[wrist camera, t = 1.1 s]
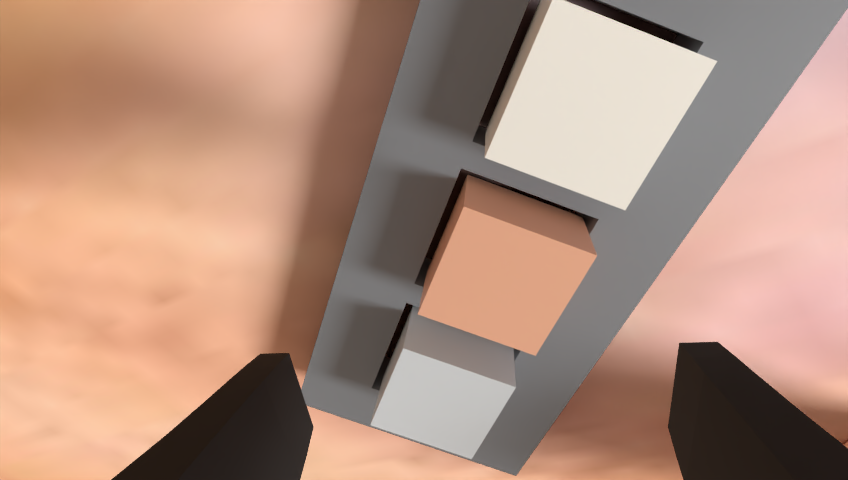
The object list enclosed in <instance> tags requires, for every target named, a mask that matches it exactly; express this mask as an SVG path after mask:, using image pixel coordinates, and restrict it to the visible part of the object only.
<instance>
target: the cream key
mask: <svg viewBox="0 0 848 480" xmlns="http://www.w3.org/2000/svg"><path fill="white" fill-rule="evenodd" d="M716 63H717V61H716V60H713V59H711V58H708V57H705V56H703V55H700V54H698V53H695V52H693V51H690V50H688V49H685V48H683V47H680V46H678V45H675V44H673V43H670V42H668V41H665V40H663V39H660V38H658V37H655V36H653V35H650V34H648V33H645V32H643V31H640V30H638V29H635V28H633V27H630V26H628V25H625V24H623V23H620V22H618V21H615V20H613V19H610V18H608V17H605V16H603V15H600V14H598V13H595V12H592V11H590V10H587V9H585V8H582V7H580V6H577V5H575V4H572V3H570V2H567V1H565V0H540V2H539V4H538V6H537V9H536V11H535V14H534V16H533V18H532V21H531V23H530V26H529V28H528V30H527V33H526V35H525V38H524V40H523V42H522V45H521V47H520V50H519V52H518V54H517V57H516V59H515V62H514V64H513V66H512V69H511V71H510V74H509V76H508V78H507V81H506V83H505V86H504V88H503V90H502V93H501V95H500V98H499V100H498V102H497V105H496V107H495V110H494V112H493V114H492V117H491V119H490V122H489V124H488V126H487V129H486V131H485V158H487V159H489V160H492V161H495V162H497V163H500V164H503V165H505V166H508V167H511V168H513V169H516V170H519V171H521V172H524V173H527V174H529V175H532V176H535V177H537V178H540V179H543V180H545V181H548V182H551V183H553V184H556V185H559V186H561V187H564V188H567V189H569V190H572V191H575V192H577V193H580V194H583V195H585V196H588V197H591V198H593V199H596V200H599V201H601V202H604V203H607V204H609V205H612V206H615V207H617V208H620V209H623V210H626V208H627V207H628V205H629V204H630V202H631V200H632V199H633V197H634V196H635V194H636V192H637V191H638V189H639V187H640V186H641V184H642V183H643V181H644V179H645V178H646V176H647V174H648V173H649V171H650V170H651V168H652V166H653V165H654V163H655V162H656V160H657V158H658V157H659V155H660V153H661V152H662V150H663V149H664V147H665V145H666V144H667V142H668V140H669V139H670V137H671V136H672V134H673V132H674V131H675V129H676V128H677V126H678V124H679V123H680V121H681V119H682V118H683V116H684V115H685V113H686V111H687V110H688V108H689V106H690V105H691V103H692V102H693V100H694V98H695V97H696V95H697V93H698V92H699V90H700V89H701V87H702V85H703V84H704V82H705V81H706V79H707V77H708V76H709V74H710V72H711V71H712V69H713V68H714V66H715V64H716Z"/></svg>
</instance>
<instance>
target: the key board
mask: <svg viewBox="0 0 848 480" xmlns="http://www.w3.org/2000/svg"><path fill="white" fill-rule="evenodd" d="M529 1H530V0H420V3H419V6H418V9H417V12H416V16H415V19H414V22H413V25H412V29H411V32H410V35H409V39H408V42H407V45H406V48H405V52H404V55H403V58H402V62H401V65H400V68H399V71H398V75H397V78H396V81H395V84H394V88H393V91H392V94H391V98H390V101H389V104H388V107H387V111H386V114H385V117H384V120H383V124H382V127H381V130H380V134H379V137H378V140H377V143H376V147H375V150H374V153H373V157H372V160H371V163H370V166H369V170H368V173H367V176H366V179H365V183H364V186H363V189H362V193H361V196H360V199H359V202H358V206H357V209H356V212H355V216H354V219H353V222H352V225H351V229H350V232H349V235H348V238H347V242H346V245H345V248H344V252H343V255H342V258H341V261H340V265H339V268H338V271H337V274H336V278H335V281H334V284H333V288H332V291H331V294H330V297H329V301H328V304H327V307H326V311H325V314H324V317H323V320H322V324H321V327H320V330H319V333H318V337H317V340H316V343H315V347H314V350H313V353H312V356H311V360H310V363H309V366H308V369H307V373H306V376H305V379H304V383H303V386H302V389H301V391H302V394H303V397H304V400H305V403H306V405H307V406H310V407H313V408H316V409H319V410H322V411H325V412H328V413H331V414H333V415H336V416H339V417H342V418H345V419H348V420H351V421H354V422H357V423H360V424H363V425H366V426H369V427H372V428H375V429H378V430H381V431H384V432H387V433H390V434H393V435H396V436H399V437H402V438H405V439H408V440H411V441H414V442H417V443H420V444H423V445H426V446H429V447H432V448H435V449H438V450H441V451H444V452H447V453H450V454H452V455H455V456H458V457H461V458H464V459H467V460H470V461H473V462H476V463H479V464H482V465H485V466H488V467H491V468H494V469H497V470H500V471H503V472H506V473H509V474H512V475H515V476H516V475H517V474H518V472H519V471H520V470H521V468H522V467H523V465H524V464H525V463H526V461H527V460H528V458H529V457H530V455H531V454H532V453H533V451H534V450H535V448H536V447H537V446H538V444H539V443H540V441H541V440H542V439H543V437H544V436H545V434H546V433H547V431H548V430H549V429H550V427H551V426H552V424H553V423H554V422H555V420H556V419H557V417H558V416H559V415H560V413H561V412H562V410H563V409H564V407H565V406H566V405H567V403H568V402H569V400H570V399H571V398H572V396H573V395H574V393H575V392H576V391H577V389H578V388H579V386H580V385H581V384H582V382H583V381H584V379H585V378H586V376H587V375H588V374H589V372H590V371H591V369H592V368H593V367H594V365H595V364H596V362H597V361H598V360H599V358H600V357H601V355H602V354H603V352H604V351H605V350H606V348H607V347H608V345H609V344H610V343H611V341H612V340H613V338H614V337H615V336H616V334H617V333H618V331H619V330H620V329H621V327H622V326H623V324H624V323H625V321H626V320H627V319H628V317H629V316H630V314H631V313H632V312H633V310H634V309H635V307H636V306H637V305H638V303H639V302H640V300H641V299H642V297H643V296H644V295H645V293H646V292H647V290H648V289H649V288H650V286H651V285H652V283H653V282H654V281H655V279H656V278H657V276H658V275H659V273H660V272H661V271H662V269H663V268H664V266H665V265H666V264H667V262H668V261H669V259H670V258H671V257H672V255H673V254H674V252H675V251H676V250H677V248H678V247H679V245H680V244H681V242H682V241H683V240H684V238H685V237H686V235H687V234H688V233H689V231H690V230H691V228H692V227H693V226H694V224H695V223H696V221H697V220H698V218H699V217H700V216H701V214H702V213H703V211H704V210H705V209H706V207H707V206H708V204H709V203H710V202H711V200H712V199H713V197H714V196H715V194H716V193H717V192H718V190H719V189H720V187H721V186H722V185H723V183H724V182H725V180H726V179H727V178H728V176H729V175H730V173H731V172H732V171H733V169H734V168H735V166H736V165H737V163H738V162H739V161H740V159H741V158H742V156H743V155H744V154H745V152H746V151H747V149H748V148H749V147H750V145H751V144H752V142H753V141H754V139H755V138H756V137H757V135H758V134H759V132H760V131H761V130H762V128H763V127H764V125H765V124H766V123H767V121H768V120H769V118H770V117H771V116H772V114H773V113H774V111H775V110H776V108H777V107H778V106H779V104H780V103H781V101H782V100H783V99H784V97H785V96H786V94H787V93H788V92H789V90H790V89H791V87H792V86H793V84H794V83H795V82H796V80H797V79H798V77H799V76H800V75H801V73H802V72H803V70H804V69H805V68H806V66H807V65H808V63H809V62H810V60H811V59H812V58H813V56H814V55H815V53H816V52H817V51H818V49H819V48H820V46H821V45H822V44H823V42H824V41H825V39H826V38H827V37H828V35H829V34H830V32H831V31H832V29H833V28H834V27H835V25H836V24H837V22H838V21H839V20H840V18H841V17H842V15H843V14H844V13H845V11H846V10H847V8H848V0H594V1H596V2H599V3H601V4H604V5H606V6H609V7H611V8H614V9H616V10H619V11H621V12H624V13H626V14H629V15H631V16H634V17H636V18H639V19H641V20H644V21H646V22H649V23H651V24H654V25H656V26H659V27H661V28H664V29H666V30H669V31H671V32H674V33H676V34H678V35H677V37H676V38H675V40H674V42H673V44H675V45H678V46H680V47H683V48H685V49H688V50H690V51H693V52H695V53H698V54H700V55H703V56H705V57H708V58H711V59H713V60H716V61H717V63H716V64H715V66H714V68H713V69H712V71H711V72H710V74H709V76H708V77H707V79H706V81H705V82H704V84H703V85H702V87H701V89H700V90H699V92H698V93H697V95H696V97H695V98H694V100H693V102H692V103H691V105H690V106H689V108H688V110H687V111H686V113H685V115H684V116H683V118H682V119H681V121H680V123H679V124H678V126H677V128H676V129H675V131H674V132H673V134H672V136H671V137H670V139H669V140H668V142H667V144H666V145H665V147H664V149H663V150H662V152H661V153H660V155H659V157H658V158H657V160H656V162H655V163H654V165H653V166H652V168H651V170H650V171H649V173H648V174H647V176H646V178H645V179H644V181H643V183H642V184H641V186H640V187H639V189H638V191H637V192H636V194H635V196H634V197H633V199H632V200H631V202H630V204H629V205H628V207H627V208H626V210H623V209H620V208H617V207H615V206H612V205H609V204H607V203H604V202H601V201H599V200H596V199H593V198H591V197H588V196H585V195H583V194H580V193H577V192H575V191H572V190H569V189H567V188H564V187H561V186H559V185H556V184H553V183H551V182H548V181H545V180H543V179H540V178H537V177H535V176H532V175H529V174H527V173H524V172H521V171H519V170H516V169H513V168H511V167H508V166H505V165H503V164H500V163H497V162H495V161H492V160H489V159H487V158H485V131H486V128H484V127H481V126H479V123H480V121H481V119H482V116H483V114H484V111H485V109H486V106H487V104H488V101H489V99H490V96H491V94H492V92H493V89H494V87H495V84H496V82H497V79H498V77H499V74H500V72H501V69H502V67H503V65H504V62H505V60H506V57H507V55H508V52H509V50H510V47H511V45H512V42H513V40H514V38H515V35H516V33H517V30H518V28H519V25H520V23H521V20H522V18H523V15H524V13H525V11H526V8H527V6H528V3H529ZM461 168H462V169H465V170H467V171H470V172H473V173H475V174H478V175H481V176H483V177H486V178H489V179H492V180H494V181H497V182H500V183H502V184H505V185H508V186H510V187H513V188H516V189H518V190H521V191H524V192H526V193H529V194H532V195H535V196H537V197H540V198H543V199H545V200H548V201H551V202H553V203H556V204H559V205H561V206H564V207H567V208H569V209H572V210H575V211H578V212H577V214H576V215H578V216H581V217H583V220H584V222H585V225H586V227H587V230H588V233H589V235H590V238H591V240H592V243H593V246H594V248H595V251H596V253H597V257H596V259H595V260H594V262H593V264H592V265H591V267H590V268H589V270H588V272H587V273H586V275H585V277H584V278H583V280H582V281H581V283H580V285H579V286H578V288H577V289H576V291H575V293H574V294H573V296H572V298H571V299H570V301H569V302H568V304H567V306H566V307H565V309H564V311H563V312H562V314H561V315H560V317H559V319H558V320H557V322H556V323H555V325H554V327H553V328H552V330H551V332H550V333H549V335H548V336H547V338H546V340H545V341H544V343H543V345H542V346H541V348H540V349H539V351H538V353H537V354H536V356H534V355H532V354H529V353H526V352H523V351H520V350H517V349H515V348H514V363H515V379H516V388H515V390H514V391H513V393H512V395H511V396H510V398H509V400H508V401H507V403H506V404H505V406H504V408H503V409H502V411H501V413H500V414H499V416H498V417H497V419H496V421H495V422H494V424H493V426H492V427H491V429H490V430H489V432H488V434H487V435H486V437H485V438H484V440H483V442H482V443H481V445H480V447H479V448H478V450H477V451H476V453H475V455H474V456H473V458H472V459H469V458H466V457H463V456H460V455H457V454H454V453H451V452H448V451H445V450H442V449H439V448H436V447H433V446H431V445H428V444H425V443H422V442H419V441H416V440H413V439H410V438H407V437H404V436H401V435H398V434H395V433H392V432H389V431H386V430H383V429H380V428H377V427H374V426H371V425H370V424H371V420H372V417H373V413H374V409H375V405H376V402H377V398H378V394H379V390H380V386H381V383H382V379H383V376H384V373H385V371H386V369H387V366H388V364H389V361H390V359H391V358H389V357H386V356H385V354H386V352H387V349H388V347H389V344H390V342H391V340H392V337H393V335H394V332H395V330H396V327H397V325H398V322H399V320H400V317H401V315H402V312H403V310H404V308H405V305H406V303H408V304H411V305H414V306H417V307H419V306H420V301H421V296H422V292H423V287H424V282H425V278H426V273H427V270H428V268H429V265H430V263H431V261H432V259H430V258H427V257H425V256H426V254H427V251H428V249H429V246H430V244H431V241H432V239H433V236H434V234H435V231H436V229H437V227H438V224H439V222H440V219H441V217H442V214H443V212H444V209H445V207H446V204H447V202H448V200H449V197H450V195H451V192H452V190H453V187H454V185H455V182H456V180H457V177H458V175H459V173H460V170H461Z"/></svg>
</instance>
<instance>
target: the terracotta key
mask: <svg viewBox="0 0 848 480" xmlns="http://www.w3.org/2000/svg"><path fill="white" fill-rule="evenodd" d="M596 257H597V253H596V251H595V248H594V246H593V243H592V240H591V238H590V235H589V233H588V230H587V227H586V225H585V222H584V220H583V217H581V216H578V215H575V214H573V213H570V212H567V211H564V210H562V209H559V208H556V207H554V206H551V205H548V204H546V203H543V202H540V201H538V200H535V199H532V198H529V197H527V196H524V195H521V194H519V193H516V192H513V191H511V190H508V189H505V188H503V187H500V186H497V185H495V184H492V183H489V182H486V181H484V180H481V179H478V178H476V177H473V176H470V175H468V174H467V177H466V179H465V181H464V184H463V186H462V189H461V191H460V193H459V196H458V198H457V201H456V203H455V205H454V208H453V210H452V213H451V215H450V217H449V220H448V222H447V225H446V227H445V229H444V232H443V234H442V237H441V239H440V241H439V244H438V246H437V249H436V251H435V253H434V256H433V258H432V261H431V263H430V265H429V268H428V270H427V273H426V278H425V282H424V287H423V292H422V296H421V301H420V306H419V311H418V315H421V316H424V317H426V318H429V319H432V320H435V321H438V322H441V323H444V324H446V325H449V326H452V327H455V328H458V329H461V330H463V331H466V332H469V333H472V334H475V335H478V336H480V337H483V338H486V339H489V340H492V341H495V342H498V343H500V344H503V345H506V346H509V347H512V348H515V349H517V350H520V351H523V352H526V353H529V354H532V355H534V356H536V354H537V353H538V351H539V349H540V348H541V346H542V345H543V343H544V341H545V340H546V338H547V336H548V335H549V333H550V332H551V330H552V328H553V327H554V325H555V323H556V322H557V320H558V319H559V317H560V315H561V314H562V312H563V311H564V309H565V307H566V306H567V304H568V302H569V301H570V299H571V298H572V296H573V294H574V293H575V291H576V289H577V288H578V286H579V285H580V283H581V281H582V280H583V278H584V277H585V275H586V273H587V272H588V270H589V268H590V267H591V265H592V264H593V262H594V260H595V259H596Z"/></svg>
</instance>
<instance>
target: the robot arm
mask: <svg viewBox="0 0 848 480" xmlns="http://www.w3.org/2000/svg"><path fill="white" fill-rule="evenodd" d="M668 428H669V432H670V435H671V439H672V442H673V446H674V450H675V453H676V457H677V460H678V463H679V466H680V470H681V473H682V476H683V480H848V448H847V447H845V446H844V445H843V444H842V443H840V442H839V441H838V440H837V439H835V438H834V437H833V436H831V435H830V434H829V433H828V432H826V431H825V430H824V429H823V428H821V427H820V426H819V425H818V424H816V423H815V422H814V421H812V420H811V419H810V418H809V417H807V416H806V415H805V414H804V413H803V412H801V411H800V410H799V409H798V408H796V407H795V406H794V405H793V404H791V403H790V402H789V401H788V400H787V399H785V398H784V397H783V396H782V395H781V394H779V393H778V392H777V391H776V390H775V389H773V388H772V387H771V386H770V385H769V384H767V383H766V382H765V381H764V380H763V379H761V378H760V377H759V376H758V375H757V374H755V373H754V372H753V371H752V370H751V369H749V368H748V367H747V366H746V365H745V364H744V363H742V362H741V361H740V360H739V359H738V358H736V357H735V356H734V355H733V354H732V353H730V352H729V351H728V350H727V349H726V348H724V347H723V346H722V345H721V344H719V343H718V342H699V343H679V349H678V357H677V364H676V372H675V379H674V387H673V394H672V402H671V409H670V417H669V424H668ZM312 431H313V424H312V421H311V418H310V415H309V412H308V409H307V406H306V403H305V400H304V397H303V394H302V391H301V388H300V385H299V382H298V379H297V376H296V373H295V370H294V367H293V364H292V361H291V358H290V355H289V353H276V354H260V355H258V356H257V357H256V358H255V359H253V360H252V361H251V362H250V363H248V364H247V365H246V366H245V367H244V368H243V369H241V370H240V371H239V372H238V373H237V374H236V375H234V376H233V377H232V378H231V379H230V380H229V381H228V382H226V383H225V384H224V385H223V386H222V387H221V388H220V389H219V390H217V391H216V392H215V393H214V394H213V395H212V396H211V397H209V398H208V399H207V400H206V401H205V402H204V403H203V404H201V405H200V406H199V407H198V408H197V409H196V410H195V411H193V412H192V413H191V414H190V415H189V416H188V417H186V418H185V419H184V420H183V421H182V422H181V423H180V424H178V425H177V426H176V427H175V428H174V429H173V430H172V431H170V432H169V433H168V434H167V435H166V436H164V437H163V438H162V439H161V440H160V441H158V442H157V443H156V444H155V445H153V446H152V447H151V448H150V449H149V450H147V451H146V452H145V453H144V454H142V455H141V456H140V457H139V458H137V459H136V460H135V461H134V462H132V463H131V464H130V465H129V466H128V467H126V468H125V469H124V470H123V471H121V472H120V473H119V474H118V475H116V476H115V477H114V478H113V479H112V480H300V478H301V474H302V471H303V467H304V463H305V460H306V456H307V452H308V447H309V443H310V439H311V435H312Z"/></svg>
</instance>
